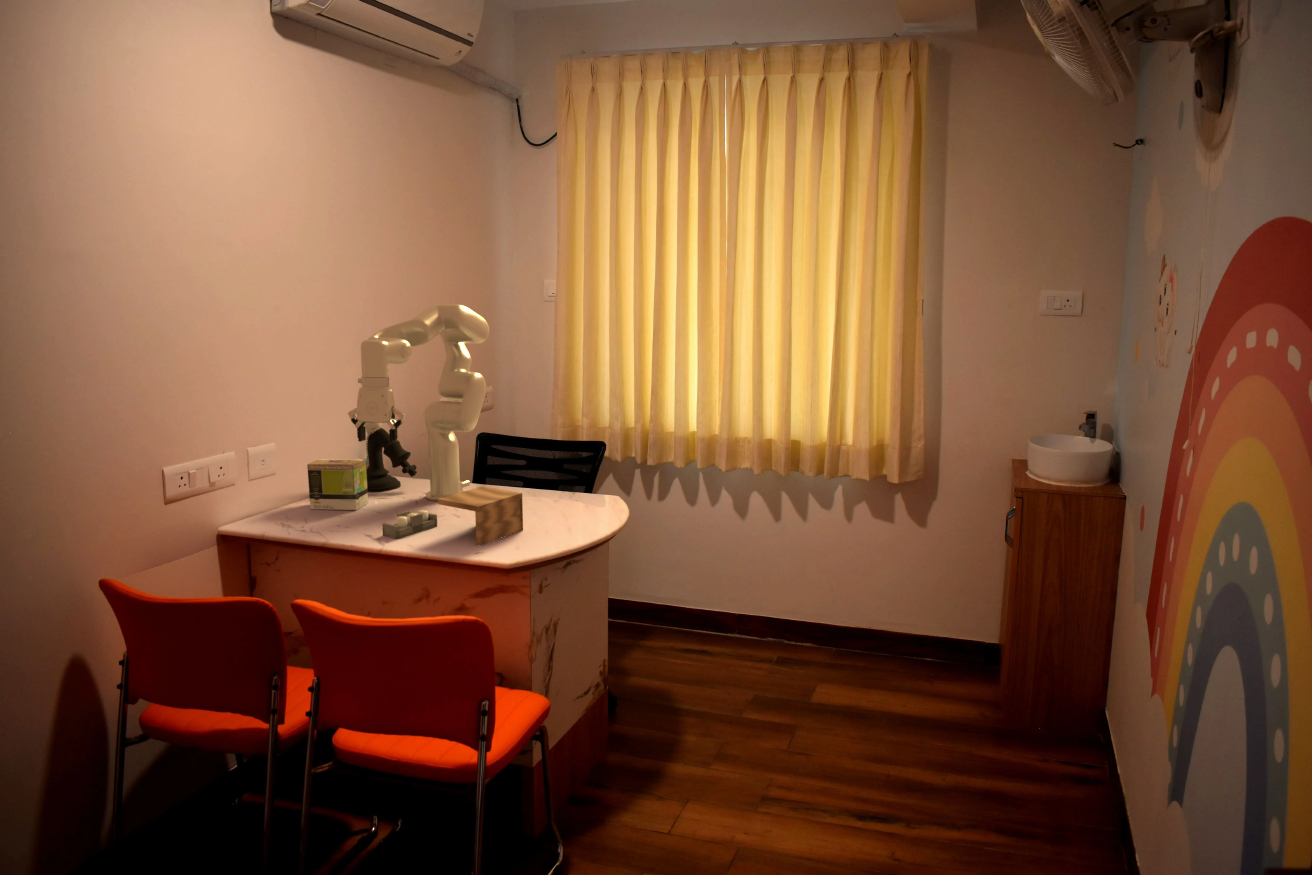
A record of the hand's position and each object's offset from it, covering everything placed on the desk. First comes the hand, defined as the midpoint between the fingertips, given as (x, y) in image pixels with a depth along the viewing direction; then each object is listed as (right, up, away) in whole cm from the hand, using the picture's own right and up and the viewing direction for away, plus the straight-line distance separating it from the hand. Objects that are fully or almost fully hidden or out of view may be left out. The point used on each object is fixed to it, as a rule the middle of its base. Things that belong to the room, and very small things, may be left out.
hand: (377, 441), depth 266 cm
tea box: (-19, -21, +22) cm, 35 cm away
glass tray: (+11, -26, -4) cm, 28 cm away
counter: (+32, -26, -7) cm, 42 cm away
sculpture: (-10, -16, +46) cm, 50 cm away
